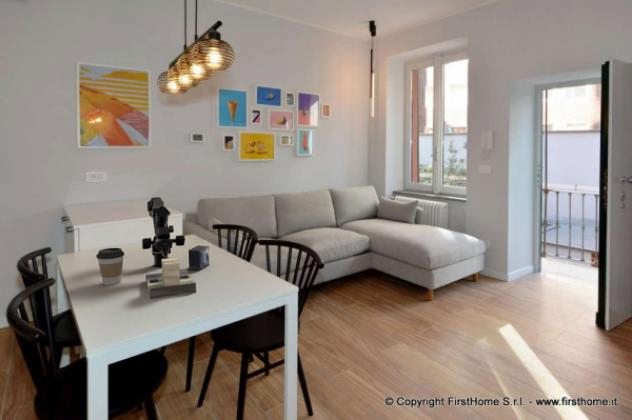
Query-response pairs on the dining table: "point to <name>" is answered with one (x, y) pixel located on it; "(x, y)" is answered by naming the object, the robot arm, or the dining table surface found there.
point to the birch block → (170, 271)
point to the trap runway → (159, 290)
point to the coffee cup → (111, 265)
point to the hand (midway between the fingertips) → (165, 257)
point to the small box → (198, 258)
